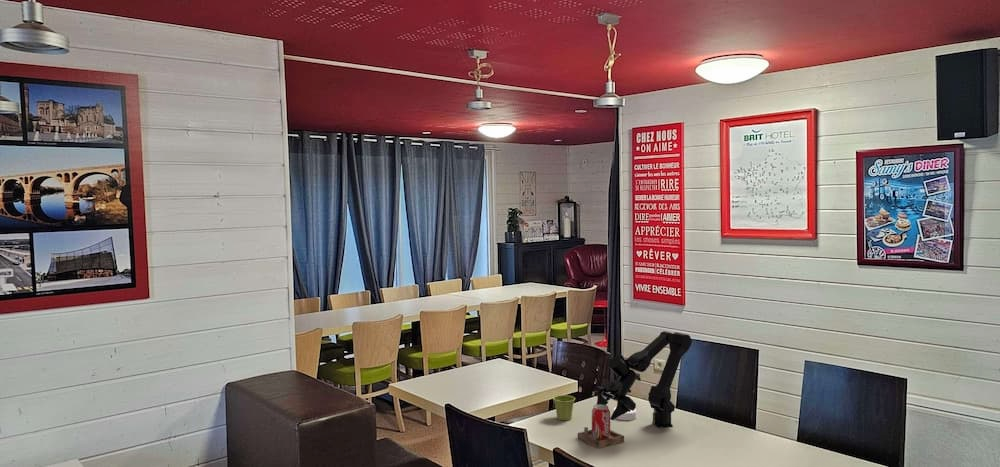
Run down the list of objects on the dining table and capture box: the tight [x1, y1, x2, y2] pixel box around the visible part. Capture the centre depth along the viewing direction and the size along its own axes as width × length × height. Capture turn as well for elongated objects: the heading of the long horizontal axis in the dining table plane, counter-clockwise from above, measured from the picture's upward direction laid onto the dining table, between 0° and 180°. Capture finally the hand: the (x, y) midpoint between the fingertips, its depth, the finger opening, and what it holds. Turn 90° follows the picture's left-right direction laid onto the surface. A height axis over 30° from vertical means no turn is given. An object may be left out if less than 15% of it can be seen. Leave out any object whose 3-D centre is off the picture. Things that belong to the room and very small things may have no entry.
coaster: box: [612, 406, 638, 421], centre depth 271 cm, size 10×10×4 cm
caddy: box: [577, 426, 625, 449], centre depth 244 cm, size 13×12×5 cm
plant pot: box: [552, 394, 576, 421], centre depth 270 cm, size 9×9×9 cm
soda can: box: [591, 404, 611, 440], centre depth 244 cm, size 7×7×12 cm
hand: (603, 416), depth 245 cm, fingers open, 9 cm apart
